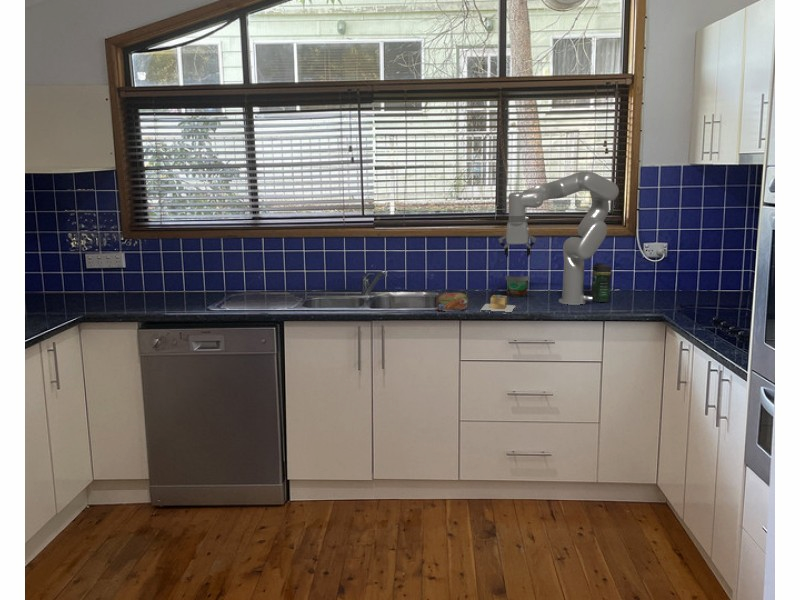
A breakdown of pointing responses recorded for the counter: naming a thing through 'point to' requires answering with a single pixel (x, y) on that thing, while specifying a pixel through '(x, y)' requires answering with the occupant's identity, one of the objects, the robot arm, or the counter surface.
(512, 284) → the food container
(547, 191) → the robot arm
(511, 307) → the post base
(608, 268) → the coffee jar
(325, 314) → the counter surface
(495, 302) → the tan wooden block
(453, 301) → the tin
